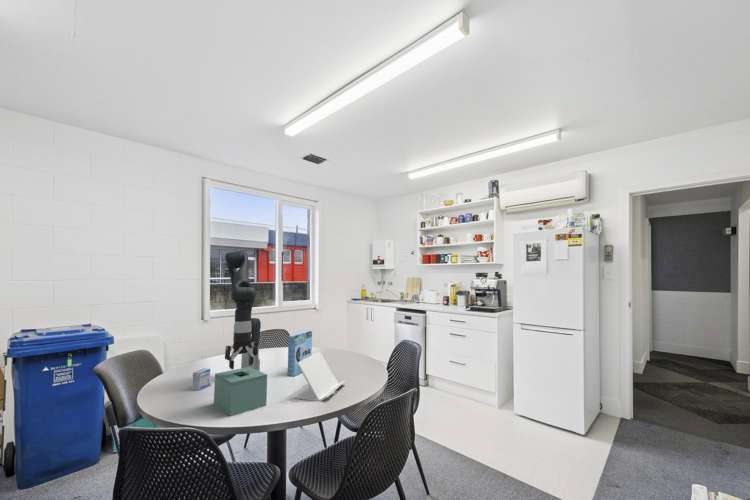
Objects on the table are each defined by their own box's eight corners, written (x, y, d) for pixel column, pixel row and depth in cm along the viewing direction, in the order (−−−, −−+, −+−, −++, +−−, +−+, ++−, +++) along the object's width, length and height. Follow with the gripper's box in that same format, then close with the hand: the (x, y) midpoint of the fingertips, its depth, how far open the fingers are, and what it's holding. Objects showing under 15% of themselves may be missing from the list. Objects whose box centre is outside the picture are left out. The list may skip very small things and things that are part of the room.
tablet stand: (292, 398, 158) (292, 362, 159) (314, 382, 182) (314, 350, 184) (327, 402, 154) (328, 364, 155) (345, 385, 178) (345, 352, 179)
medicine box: (199, 390, 168) (200, 372, 169) (191, 389, 169) (192, 372, 170) (210, 385, 176) (210, 368, 176) (202, 384, 177) (203, 368, 177)
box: (248, 395, 162) (249, 366, 163) (266, 405, 149) (267, 374, 150) (213, 404, 150) (215, 373, 151) (230, 416, 138) (231, 382, 139)
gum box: (294, 376, 191) (295, 336, 193) (286, 375, 193) (287, 335, 195) (311, 368, 210) (312, 331, 211) (304, 367, 211) (305, 330, 213)
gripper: (253, 328, 160) (252, 362, 159) (223, 331, 150) (221, 368, 148) (261, 330, 155) (260, 365, 153) (230, 333, 144) (228, 371, 143)
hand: (241, 367), depth 151 cm, fingers open, 8 cm apart
